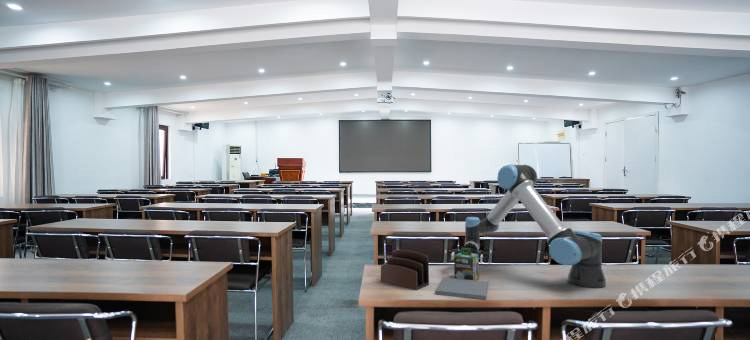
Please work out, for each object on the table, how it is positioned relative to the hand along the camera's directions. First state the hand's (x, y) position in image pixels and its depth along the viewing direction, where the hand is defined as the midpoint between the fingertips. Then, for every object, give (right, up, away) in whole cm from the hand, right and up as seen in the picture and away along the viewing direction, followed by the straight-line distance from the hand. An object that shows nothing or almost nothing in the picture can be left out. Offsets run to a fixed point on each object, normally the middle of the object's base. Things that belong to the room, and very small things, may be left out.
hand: (466, 258), depth 190 cm
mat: (-6, -9, -19) cm, 22 cm away
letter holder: (-30, -9, -11) cm, 33 cm away
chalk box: (-1, -9, -4) cm, 10 cm away
